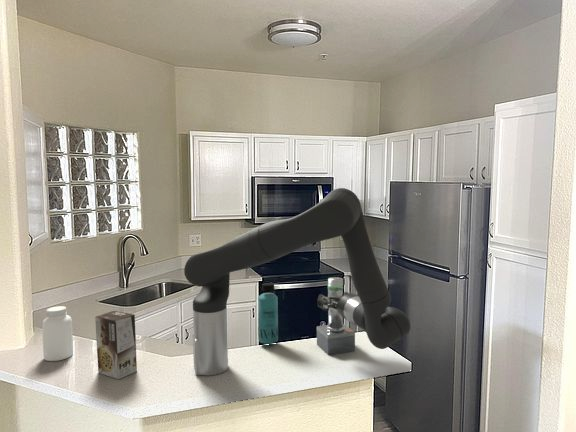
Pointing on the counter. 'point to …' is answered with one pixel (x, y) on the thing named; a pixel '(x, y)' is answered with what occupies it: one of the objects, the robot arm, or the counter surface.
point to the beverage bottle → (268, 315)
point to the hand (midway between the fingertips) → (332, 296)
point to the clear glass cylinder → (333, 315)
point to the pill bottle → (57, 334)
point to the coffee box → (116, 344)
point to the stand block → (335, 340)
